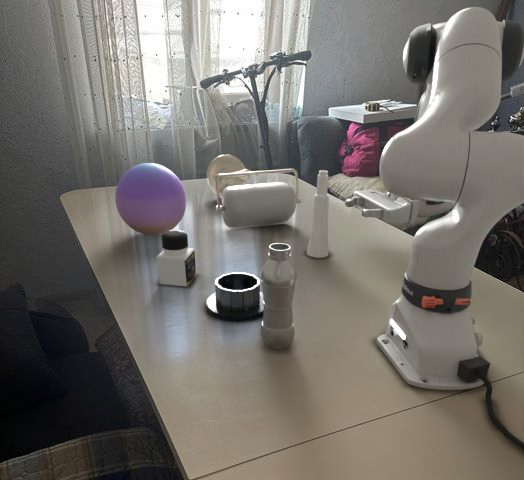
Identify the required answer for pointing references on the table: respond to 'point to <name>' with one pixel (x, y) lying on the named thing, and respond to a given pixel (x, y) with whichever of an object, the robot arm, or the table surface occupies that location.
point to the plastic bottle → (278, 297)
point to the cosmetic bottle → (320, 219)
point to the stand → (236, 298)
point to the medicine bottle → (176, 259)
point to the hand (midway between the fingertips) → (354, 208)
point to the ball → (150, 199)
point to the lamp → (250, 194)
